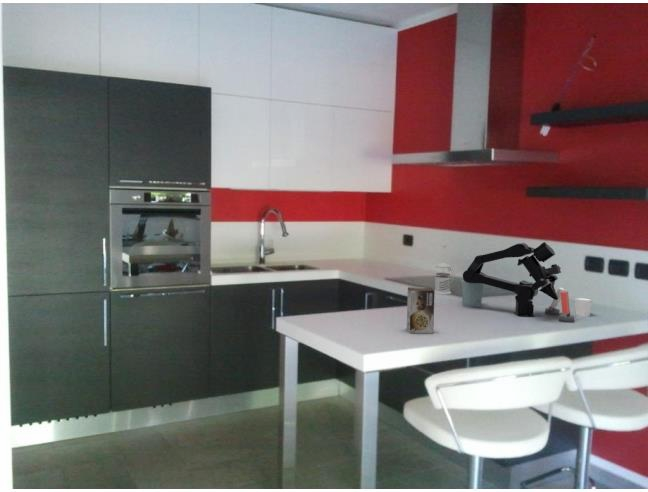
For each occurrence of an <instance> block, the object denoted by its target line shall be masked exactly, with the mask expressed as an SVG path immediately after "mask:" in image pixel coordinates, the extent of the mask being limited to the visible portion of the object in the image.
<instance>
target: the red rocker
mask: <svg viewBox="0 0 648 492" xmlns="http://www.w3.org/2000/svg"><path fill="white" fill-rule="evenodd" d="M569 297H570V295H569V291H564V292H561V300H560V302H561V315H563V313H566V314H567V315H568V314H569V313H570V314H571V309H570V298H569Z"/></svg>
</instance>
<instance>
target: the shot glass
mask: <svg viewBox="0 0 648 492" xmlns="http://www.w3.org/2000/svg"><path fill="white" fill-rule="evenodd" d="M592 303H593V299H590V298H585V297H576V298H574V304H575V305H574V306H575V307H574V309H575V312H574V313H575V316H580V317H590V316H591V309H592Z"/></svg>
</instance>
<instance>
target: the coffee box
mask: <svg viewBox="0 0 648 492" xmlns="http://www.w3.org/2000/svg"><path fill="white" fill-rule="evenodd" d="M434 290H435V289H433V287H418V286H415V287H413V286H412V287H409V286H408V287H407V300H406V301H407V303H406V304H407V305H406V306H407V307H406V331H407V332H408V334H434V320H435V318H434V317H435V293H434V292H435V291H434Z"/></svg>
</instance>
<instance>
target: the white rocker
mask: <svg viewBox="0 0 648 492" xmlns="http://www.w3.org/2000/svg"><path fill="white" fill-rule="evenodd" d="M561 292H566V288H563V287H558V289H557V291H556V294H557V296H558V299H557V300H555V299H553V298H552V301H551V304H550V306H551V307H553V309H555V308H556V309H558V306H559V303H560V302H561Z"/></svg>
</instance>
